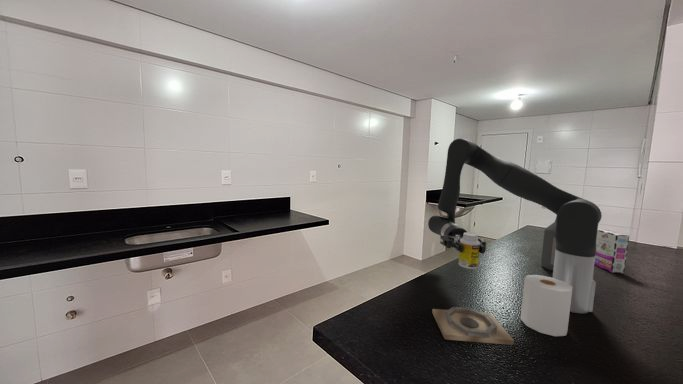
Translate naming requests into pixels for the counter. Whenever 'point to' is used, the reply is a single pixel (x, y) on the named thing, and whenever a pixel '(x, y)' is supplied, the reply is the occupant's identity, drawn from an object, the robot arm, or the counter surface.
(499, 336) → the seat plate
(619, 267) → the candy bar box
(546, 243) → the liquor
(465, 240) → the supplement bottle
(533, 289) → the toilet paper
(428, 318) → the counter surface
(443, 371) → the counter surface
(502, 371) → the counter surface
